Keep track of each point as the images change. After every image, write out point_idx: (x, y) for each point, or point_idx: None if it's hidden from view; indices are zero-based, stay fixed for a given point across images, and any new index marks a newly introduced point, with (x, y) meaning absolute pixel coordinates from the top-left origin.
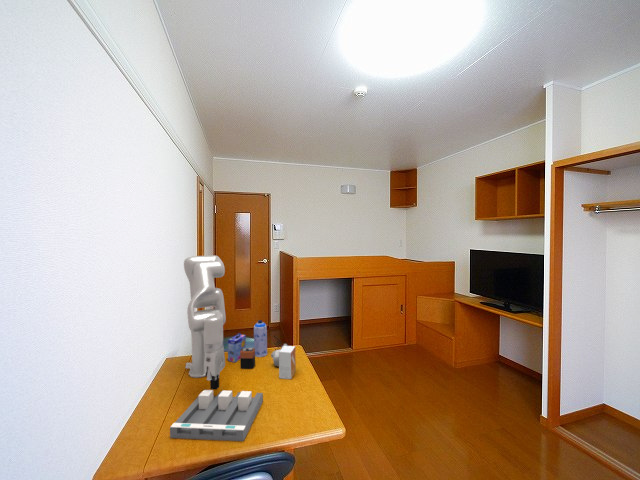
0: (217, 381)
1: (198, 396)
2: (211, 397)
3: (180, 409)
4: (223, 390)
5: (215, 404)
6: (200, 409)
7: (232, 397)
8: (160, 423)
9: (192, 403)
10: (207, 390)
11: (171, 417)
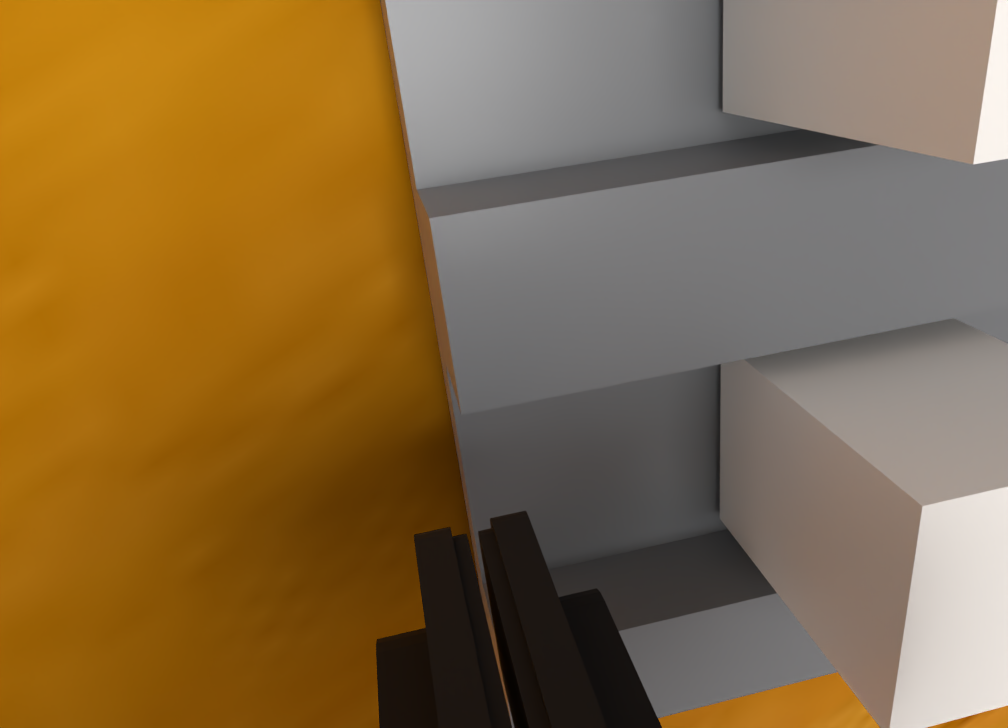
0: (590, 691)
1: (703, 705)
2: (919, 402)
3: (756, 722)
4: (987, 125)
5: (1001, 179)
6: None
7: (423, 4)
8: (1005, 714)
9: None
10: (922, 639)
11: None
